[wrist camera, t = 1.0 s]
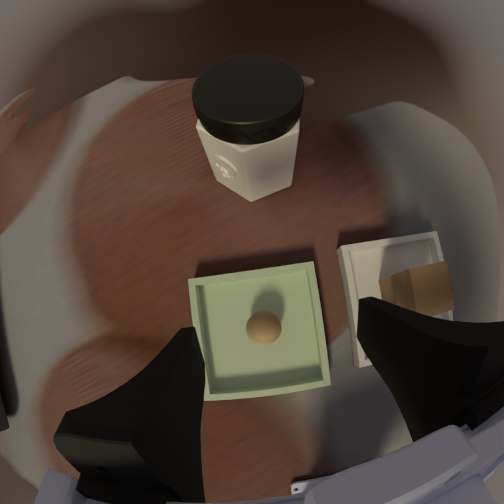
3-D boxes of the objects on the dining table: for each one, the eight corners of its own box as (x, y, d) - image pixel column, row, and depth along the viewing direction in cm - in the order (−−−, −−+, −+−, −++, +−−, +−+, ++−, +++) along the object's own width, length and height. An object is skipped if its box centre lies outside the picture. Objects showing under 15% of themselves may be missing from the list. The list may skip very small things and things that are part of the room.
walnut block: (418, 311, 24) (455, 308, 17) (384, 320, 24) (417, 320, 17) (411, 273, 24) (446, 260, 18) (378, 280, 25) (409, 268, 18)
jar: (199, 172, 29) (164, 97, 17) (245, 123, 30) (233, 42, 18) (267, 216, 27) (265, 147, 15) (311, 160, 28) (329, 78, 17)
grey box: (445, 336, 23) (454, 336, 21) (353, 364, 23) (359, 367, 22) (428, 235, 26) (436, 230, 24) (336, 250, 26) (340, 245, 24)
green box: (326, 380, 23) (330, 385, 21) (208, 395, 24) (204, 400, 22) (310, 264, 26) (313, 261, 24) (193, 281, 26) (188, 279, 24)
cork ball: (282, 341, 24) (284, 344, 21) (250, 345, 24) (247, 349, 21) (278, 308, 25) (279, 307, 22) (245, 313, 25) (242, 313, 22)
